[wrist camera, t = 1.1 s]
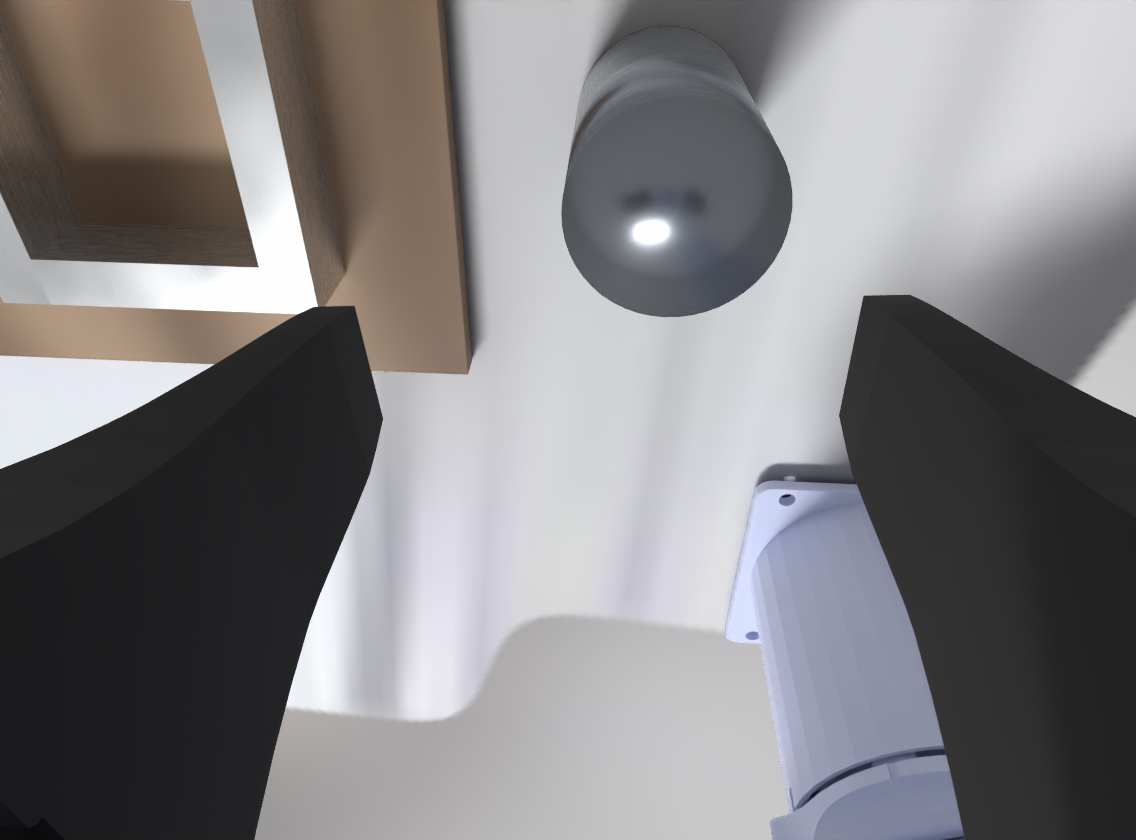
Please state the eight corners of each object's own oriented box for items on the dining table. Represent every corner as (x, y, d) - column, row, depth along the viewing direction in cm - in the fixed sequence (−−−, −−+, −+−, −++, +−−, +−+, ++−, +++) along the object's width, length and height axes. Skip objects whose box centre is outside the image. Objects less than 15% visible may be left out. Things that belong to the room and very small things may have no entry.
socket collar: (280, -83, 15) (235, -74, 13) (345, 274, 20) (319, 314, 18) (-96, -89, 16) (-188, -81, 14) (57, 264, 20) (3, 302, 19)
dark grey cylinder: (759, 27, 17) (814, 99, 12) (733, 203, 19) (770, 320, 14) (578, 24, 17) (562, 93, 12) (575, 198, 19) (560, 313, 14)
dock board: (422, -281, 14) (412, -287, 13) (472, 359, 22) (467, 374, 22) (-301, -286, 14) (-343, -292, 14) (15, 341, 23) (-3, 355, 22)
